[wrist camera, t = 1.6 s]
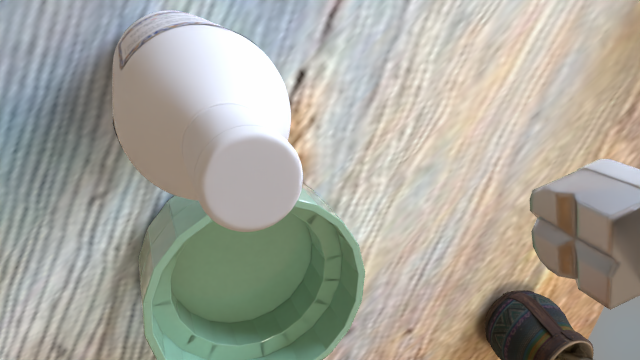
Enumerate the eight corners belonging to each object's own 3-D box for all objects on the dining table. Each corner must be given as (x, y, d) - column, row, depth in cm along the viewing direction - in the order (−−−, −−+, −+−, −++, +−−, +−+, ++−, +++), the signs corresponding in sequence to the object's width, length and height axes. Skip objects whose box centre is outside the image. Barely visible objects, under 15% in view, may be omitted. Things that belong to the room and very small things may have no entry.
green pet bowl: (104, 209, 32) (103, 253, 27) (306, 136, 36) (340, 164, 30) (180, 367, 38) (190, 428, 33) (347, 293, 42) (380, 338, 36)
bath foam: (218, 134, 33) (335, 303, 16) (104, 114, 30) (92, 294, 13) (241, 26, 31) (402, 84, 14) (122, -6, 29) (137, 17, 11)
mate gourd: (470, 297, 47) (552, 369, 38) (537, 267, 49) (629, 329, 40) (476, 355, 50) (552, 434, 41) (538, 324, 52) (624, 394, 43)
